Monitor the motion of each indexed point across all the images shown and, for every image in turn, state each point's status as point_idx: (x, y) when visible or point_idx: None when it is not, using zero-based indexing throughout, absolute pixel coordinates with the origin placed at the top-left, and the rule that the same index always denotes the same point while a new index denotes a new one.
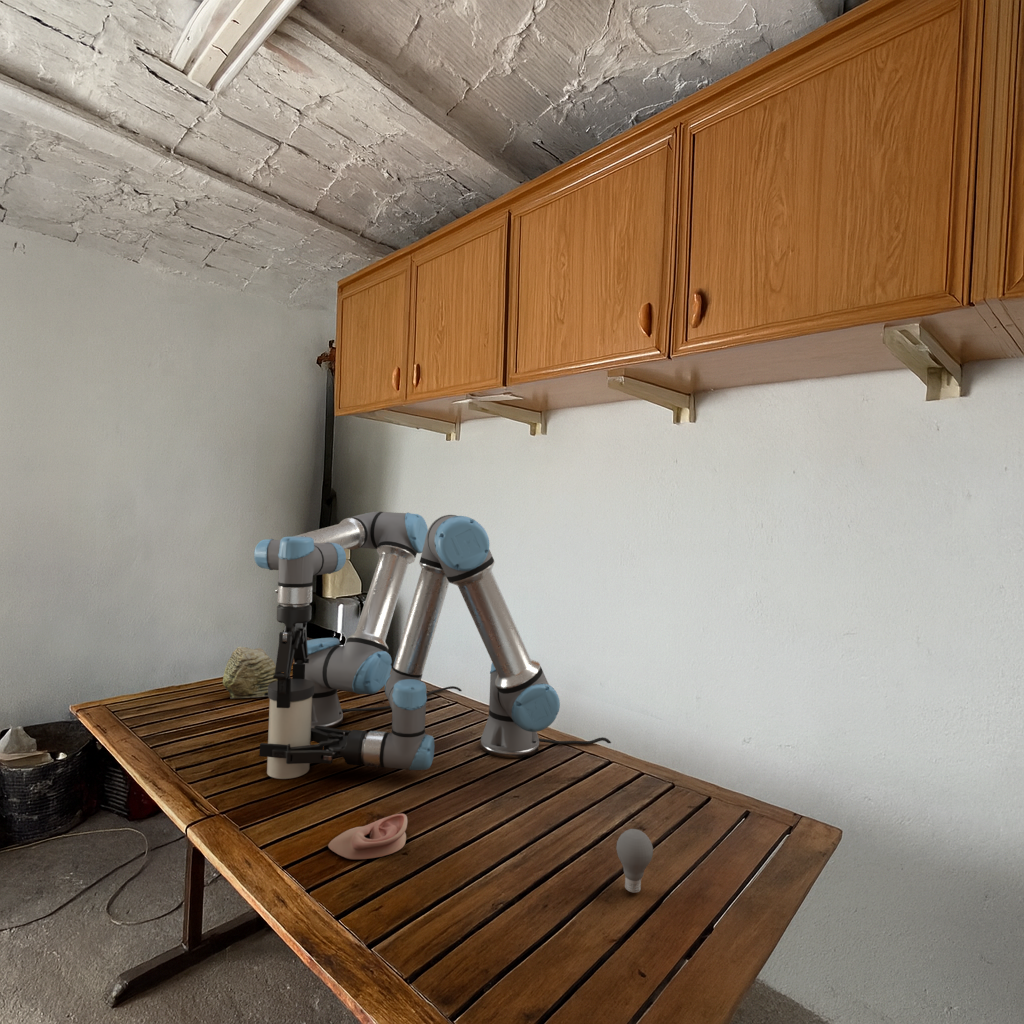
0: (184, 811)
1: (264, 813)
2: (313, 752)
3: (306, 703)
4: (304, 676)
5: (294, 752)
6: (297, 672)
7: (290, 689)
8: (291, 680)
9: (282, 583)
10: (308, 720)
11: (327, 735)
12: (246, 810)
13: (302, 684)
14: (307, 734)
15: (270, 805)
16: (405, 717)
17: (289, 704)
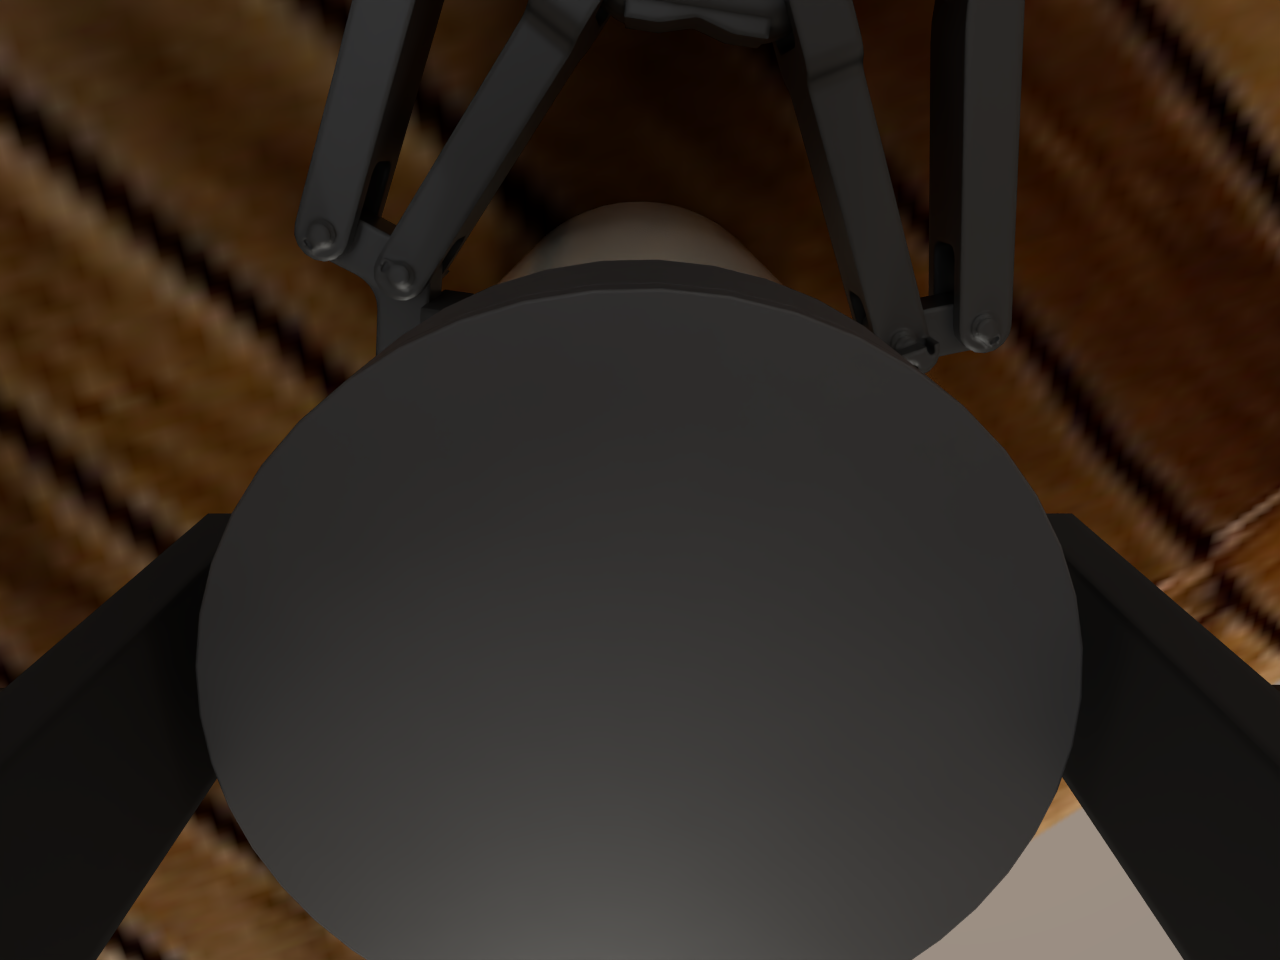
0: None
1: (1263, 318)
2: (1017, 88)
3: None
4: (77, 644)
5: (1007, 277)
6: (98, 831)
7: (1195, 665)
8: (351, 800)
9: None
10: (714, 256)
11: (575, 43)
12: (1201, 434)
13: (589, 548)
14: (710, 241)
15: (1161, 314)
16: None
17: (1083, 534)
